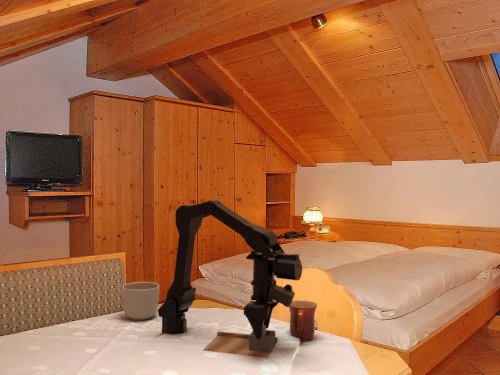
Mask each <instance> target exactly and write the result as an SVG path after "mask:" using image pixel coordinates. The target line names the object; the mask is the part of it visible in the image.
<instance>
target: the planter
mask: <svg viewBox="0 0 500 375" xmlns="http://www.w3.org/2000/svg"><path fill="white" fill-rule="evenodd" d="M121 296H122V309H123V313H124V315H125V316H126V317H127V318H128V319H130V320H132V321H143V320H144V321H146V320H149V319H151V318H153V317H154V316H155V315H156V314H157V313H158V309H159V308H158V307H159V302H160V300H159V298H160V284H159V283H157V282H154V281H153V282H152V281H136V282H129V283H125V284H123V285H121Z"/></svg>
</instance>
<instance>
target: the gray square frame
mask: <svg viewBox="0 0 500 375" xmlns="http://www.w3.org/2000/svg"><path fill="white" fill-rule="evenodd" d="M275 337H276V330H273V329H266V336H261V339H257V338H256V336H255V334H254V331H253V330H252V331H251V332H250V333H249V350H250V351H258V352H267V353H270V354H271V353H272V352H271V351H273V350H274V349H275V346H276V345H275Z"/></svg>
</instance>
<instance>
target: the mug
mask: <svg viewBox="0 0 500 375" xmlns="http://www.w3.org/2000/svg"><path fill="white" fill-rule="evenodd" d="M317 307H318V303H316V302H314V301H312V300H305V299H304V300H302V299H299V300H292V303H291V305H290V306H289V307H288V308H289V317H290V319H289V333H290V335H291V336H292V337H294V338H297V339H299V342H308V340H309V341H311V340H312V339H314V337H315V327H316V326H315V324H316V323H315V314H316V310H317Z"/></svg>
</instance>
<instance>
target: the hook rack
mask: <svg viewBox="0 0 500 375" xmlns="http://www.w3.org/2000/svg"><path fill="white" fill-rule="evenodd" d="M266 330H267V328H266V325H263V330H262V336H266ZM249 335H250V333H249V334H248V333H246V334H245V333H239V332H238V333H236V332H228V331H217V332H216V336H215V337H214V338H213V339H212V340H211V341H210V342H209V343H208V344H207V345H206V346H205V347H204V348H203V349H202V351H203V352H214V353H220V354H221V353H222V354H232V355H239V356H246V357H247V356H250V357H258V358H266V359H268V358H269V357H270V355H271V353H272V351H273V350H272V351H271V353H267V352H258V351H250V350H249ZM278 341H279V340H278V337H277V336H275V346H276V345H277V343H278Z"/></svg>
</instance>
